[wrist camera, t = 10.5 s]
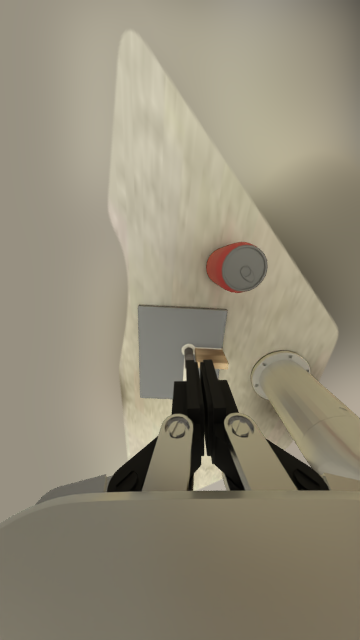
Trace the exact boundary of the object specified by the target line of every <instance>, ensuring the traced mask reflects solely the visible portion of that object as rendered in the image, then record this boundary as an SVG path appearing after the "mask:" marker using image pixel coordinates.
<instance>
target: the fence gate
mask: <svg viewBox="0 0 360 640" xmlns="http://www.w3.org/2000/svg"><path fill="white" fill-rule="evenodd" d="M184 356H185V368H186V360H194V355H193V349H192V348H189V347H188V348H186V349H185V351H184Z"/></svg>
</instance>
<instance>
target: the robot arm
mask: <svg viewBox="0 0 360 640" xmlns="http://www.w3.org/2000/svg"><path fill="white" fill-rule="evenodd" d="M251 383H252V386H253V388H254V390H255V391H256V393H257V394H258V395H259V396H261V397H262V398H264V399H267V400H269V401H270V402H271V404H272V406H273V407H274V409H275V411H276V412H277V414H278V415H279V417H280V419H281V420H282V422H283V423H284V425H285V427H286V428H287V430H288V431H289V433H290V435H291V436H292V438H293V440H294V441H295V443H296V444H297V446H298V448H299V449H300V451H301V452H302V454H303V455H304V457H305V459H306V460H307V462H308V463H309V465H310V466H311V467H309V466H308V465H306V464H304V463H303V462H301V461H300V460H298V459H296V458H295V457H294V456H292V455H290V454H289V453H287V452H286V451H284V450H283V449H281V448H279V447H278V446H276V445H275V444H273V443H272V442H270V441H269V440H267V439H265V437H264V436H263V434H262V432H261V431H260V429H259V428H258V426H257V424H256V423H255V422H254V420H253V419H251V418H250V417H249V416H247V415H245V414H242V413H239V412H238V409H237V406H236V404H235V401H234V398H233V396H232V393H231V390H230V387H229V385H228V382H227V380H218V378H217V375H216V371H215V368H214V364H213V361H212V359H209V360H203V362H200V375H199V368H198V362H194V360H186V381H174V390H173V403H172V415H170V416H169V417H167V418H166V419H165V420H164V421H163V423H162V425H161V429H160V432H159V435H158V436H157V437H156V438H155V439H154V440H153V441H152V442H150V443H149V444H148V445H147V446H146V447H144V448H143V449H142V450H141V451H140V452H138V453H137V454H136V455H135V456H134V457H132V458H131V459H130V460H129V461H128V462H126V463H125V464H124V465H123V466H122V467H120V468H119V469H118V470H117V471H116V472H115V473H114V475H113V476H109V477H107V476H106V474H105V475H101V476H98V477H94V478H90V479H86V480H83V481H79V482H76V483H71V484H68V485H64V486H60V487H57V488H55V489H53V490H50V491H49V492H48V493H46V494H45V495H44V496H42V497H41V499H40V500H39V501H38V502H37V503H36V504H35V505H34V506H32V507H29V508H27V509H25V510H23V511H21V512H19V513H17V514H15V515H13V516H12V517H10V518H8V519H6V520H5V521H3V522H2V523H0V640H360V418H359V417H358V416H357V415H356V414H354V413H353V412H352V411H351V410H350V409H349V408H348V407H347V406H345V405H344V404H343V403H342V402H341V401H340V400H339V399H338V398H336V397H335V396H334V395H333V394H332V393H331V392H330V391H329V390H327V389H326V388H325V387H324V386H323V385H322V384H321V383H320V382H318V381H317V380H316V379H315V378H314V377H313V376H312V375H311V370H310V366H309V364H308V363H307V361H306V360H305V359H304V358H303V357H301V356H300V355H298V354H296V353H294V352H290V351H278V352H274V353H271V354H268V355H267V356H265V357H263V358H262V359H261V360H260V361H259V362H258V363H257V364H256V365H255V367H254V369H253V371H252V374H251ZM204 434H205V442H206V450H207V456H211V458H212V464H215V465H216V466H217V467H218V468H219V469H220V470H221V471H222V477H223V480H224V484H225V487H226V490H227V491H193V485H194V473H195V472H196V470H197V469H198V468H199V467H200V466H201V456H204Z"/></svg>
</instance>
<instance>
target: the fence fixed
mask: <svg viewBox="0 0 360 640" xmlns="http://www.w3.org/2000/svg"><path fill="white" fill-rule="evenodd" d="M209 359H212V361H213V364H214V368H215V369H228V361H227V359H226V357H225V355H224V352H223V350H221V349H201V348H195V360H196V362H198V368H200V362H203V360H209Z"/></svg>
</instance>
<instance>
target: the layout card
mask: <svg viewBox="0 0 360 640" xmlns="http://www.w3.org/2000/svg"><path fill="white" fill-rule="evenodd" d="M226 317H227V310H226V309H207V308H188V307H168V306H149V305H139V306H138V329H139V367H140V398H157V399H173V390H174V381H186V368H185V356H184V351H185V349H186V348H188V347H189V348H192V349H193V355H194V362H196V360H195V348H201V349H221V350H222V347H223V339H224V332H225V325H226ZM215 371H216V375H217V378H218V376H219V369H215ZM199 375H200V368H199Z"/></svg>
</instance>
